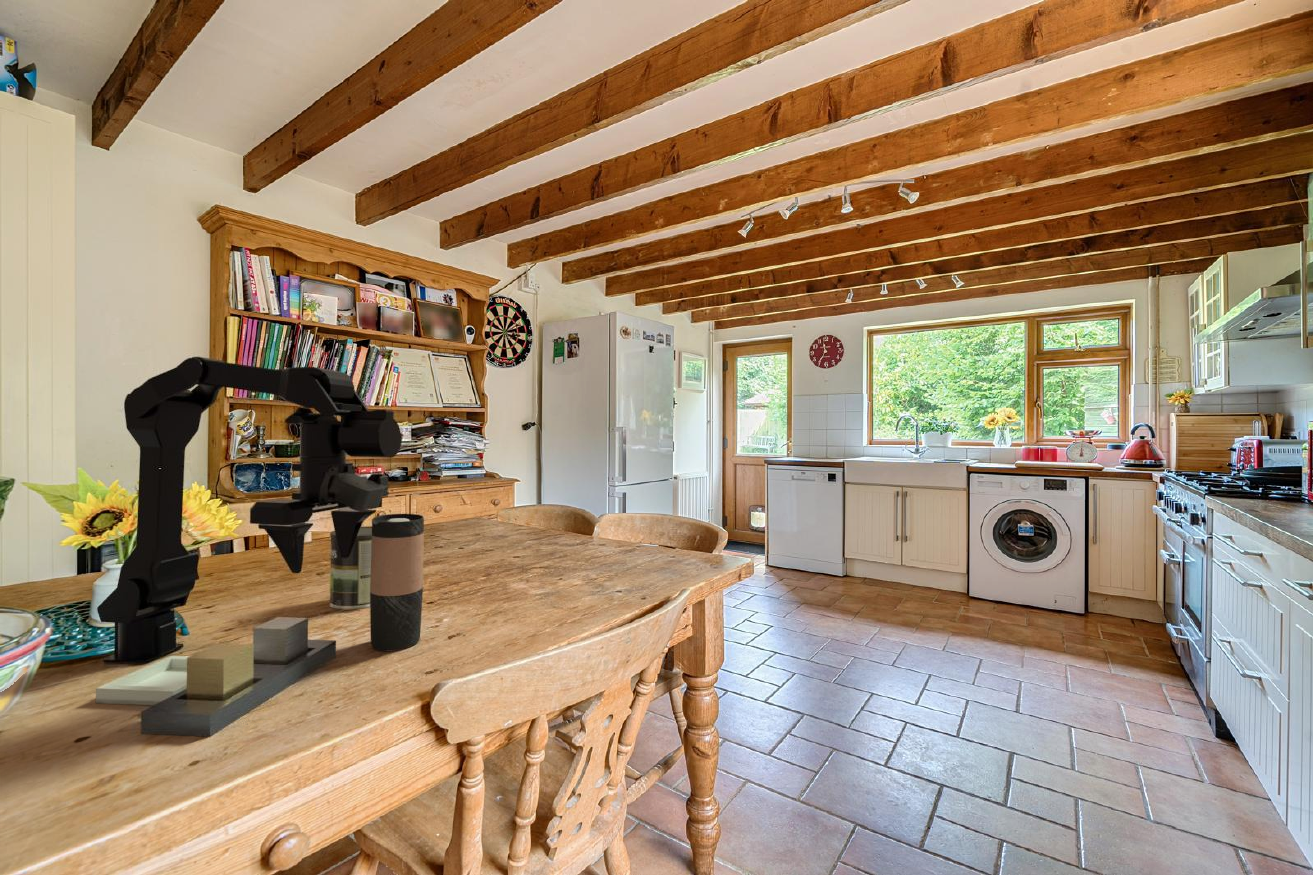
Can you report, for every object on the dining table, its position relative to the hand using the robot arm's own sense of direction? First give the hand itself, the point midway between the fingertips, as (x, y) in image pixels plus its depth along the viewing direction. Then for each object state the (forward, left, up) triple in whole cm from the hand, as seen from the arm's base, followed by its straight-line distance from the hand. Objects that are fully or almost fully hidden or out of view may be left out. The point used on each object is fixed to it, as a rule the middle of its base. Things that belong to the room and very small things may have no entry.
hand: (322, 565), depth 80 cm
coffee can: (-12, +29, -15) cm, 35 cm away
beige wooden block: (-4, -13, -15) cm, 20 cm away
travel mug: (+6, +9, -15) cm, 18 cm away
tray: (-15, -8, -14) cm, 22 cm away
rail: (-4, -8, -15) cm, 17 cm away
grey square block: (-4, -3, -15) cm, 15 cm away
